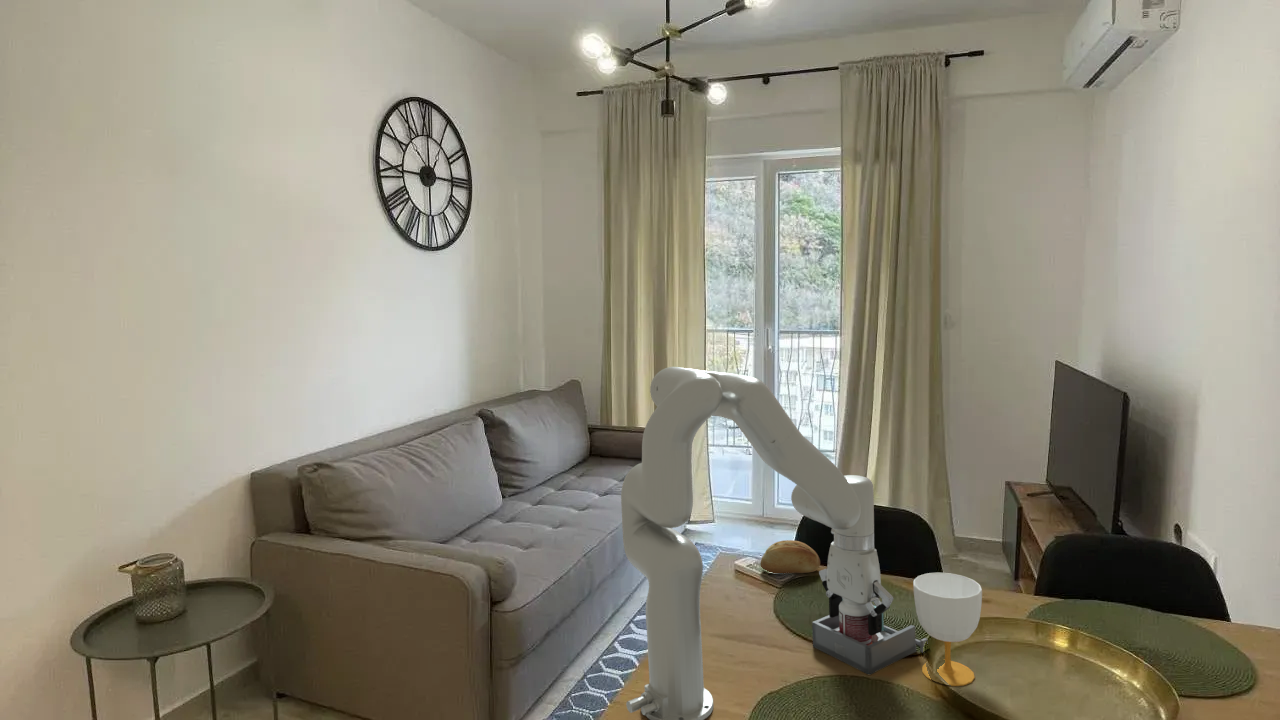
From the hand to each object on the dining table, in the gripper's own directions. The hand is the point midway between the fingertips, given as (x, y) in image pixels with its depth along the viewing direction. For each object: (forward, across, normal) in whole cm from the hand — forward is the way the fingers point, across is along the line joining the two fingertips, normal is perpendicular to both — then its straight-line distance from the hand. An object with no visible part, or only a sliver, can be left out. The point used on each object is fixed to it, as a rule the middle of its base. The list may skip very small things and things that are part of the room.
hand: (854, 624), depth 146 cm
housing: (+6, 0, +4) cm, 7 cm away
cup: (+6, +16, +7) cm, 18 cm away
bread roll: (+6, -37, +19) cm, 42 cm away
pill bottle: (+5, 0, 0) cm, 5 cm away
